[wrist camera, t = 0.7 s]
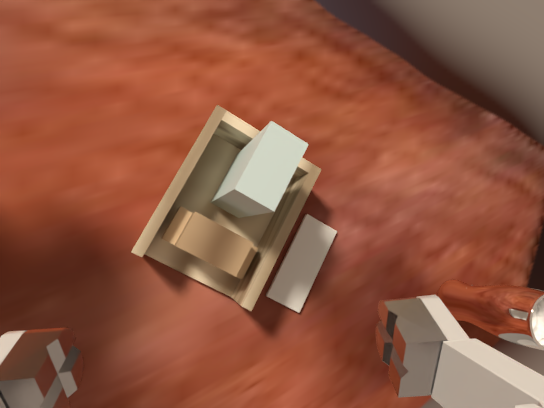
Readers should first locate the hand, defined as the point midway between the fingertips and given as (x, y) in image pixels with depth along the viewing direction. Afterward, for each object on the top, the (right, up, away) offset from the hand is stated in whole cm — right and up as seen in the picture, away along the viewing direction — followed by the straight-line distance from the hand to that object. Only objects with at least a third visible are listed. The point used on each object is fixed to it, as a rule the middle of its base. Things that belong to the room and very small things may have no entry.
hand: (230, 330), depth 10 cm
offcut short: (-6, -1, +32) cm, 32 cm away
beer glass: (+28, -11, +47) cm, 56 cm away
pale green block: (-3, +6, +37) cm, 38 cm away
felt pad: (+5, -4, +40) cm, 40 cm away
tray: (-5, +3, +37) cm, 38 cm away
